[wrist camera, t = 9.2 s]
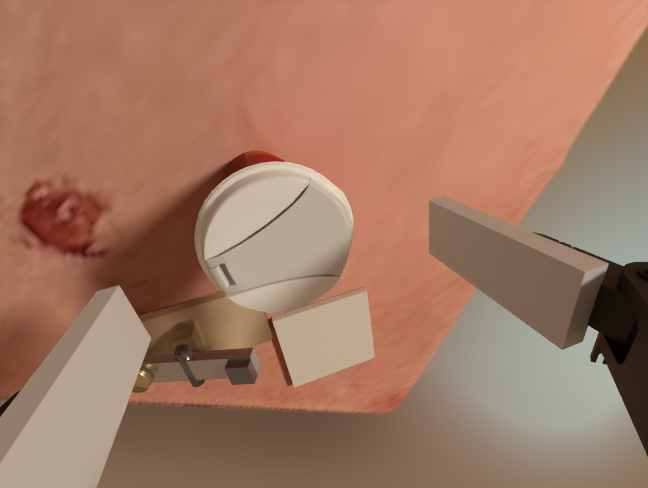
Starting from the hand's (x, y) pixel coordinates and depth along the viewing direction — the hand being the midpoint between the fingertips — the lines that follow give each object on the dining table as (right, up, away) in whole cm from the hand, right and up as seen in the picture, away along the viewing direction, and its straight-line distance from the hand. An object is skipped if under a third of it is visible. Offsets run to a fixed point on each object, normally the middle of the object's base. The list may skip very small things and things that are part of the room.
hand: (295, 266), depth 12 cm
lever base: (-12, -8, +17) cm, 22 cm away
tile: (+2, -10, +23) cm, 25 cm away
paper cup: (-5, +6, +13) cm, 15 cm away
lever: (-11, -10, +13) cm, 19 cm away
